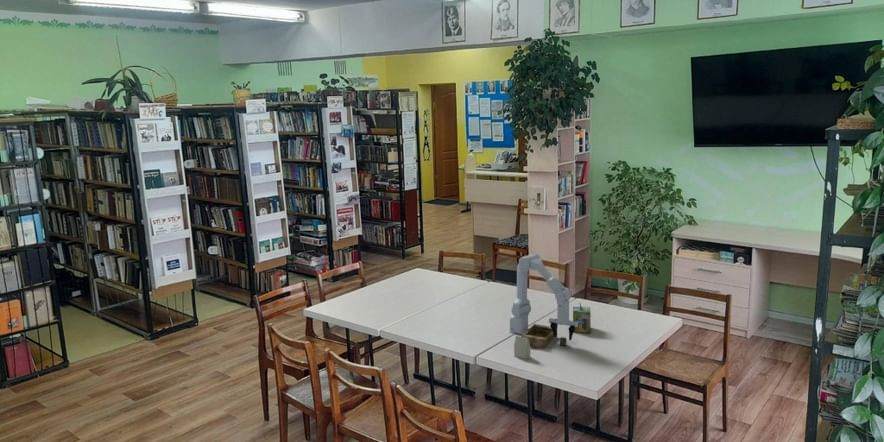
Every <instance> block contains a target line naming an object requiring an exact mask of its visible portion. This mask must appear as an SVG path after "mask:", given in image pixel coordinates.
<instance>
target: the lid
mask: <svg viewBox="0 0 884 442" xmlns="http://www.w3.org/2000/svg"><path fill="white" fill-rule="evenodd" d="M559 346H560V347H567V337H565V336H561V337H559Z"/></svg>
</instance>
